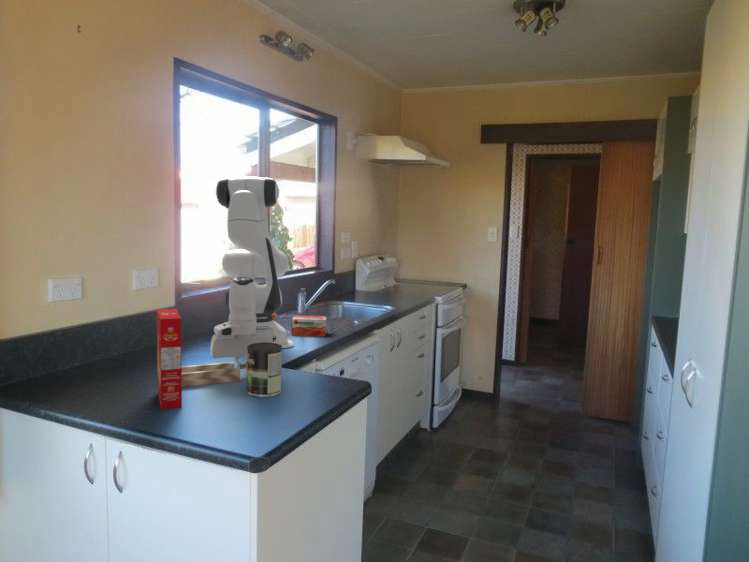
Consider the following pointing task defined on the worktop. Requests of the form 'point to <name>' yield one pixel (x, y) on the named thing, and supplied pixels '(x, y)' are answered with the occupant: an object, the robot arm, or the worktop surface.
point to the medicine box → (309, 325)
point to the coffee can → (264, 369)
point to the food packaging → (169, 359)
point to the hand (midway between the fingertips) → (242, 368)
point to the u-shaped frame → (209, 374)
